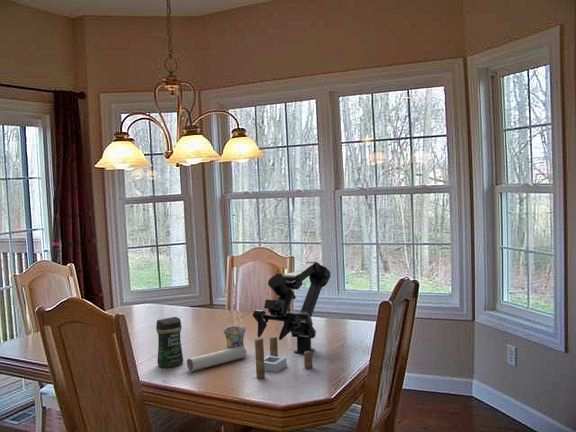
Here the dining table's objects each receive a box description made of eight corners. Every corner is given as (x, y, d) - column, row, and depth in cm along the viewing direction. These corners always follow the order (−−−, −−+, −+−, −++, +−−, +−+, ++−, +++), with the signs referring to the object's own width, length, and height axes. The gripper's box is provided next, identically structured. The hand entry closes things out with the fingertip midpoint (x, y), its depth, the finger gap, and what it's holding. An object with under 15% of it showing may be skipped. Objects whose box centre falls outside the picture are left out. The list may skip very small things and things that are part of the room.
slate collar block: (268, 362, 215) (268, 355, 215) (286, 365, 211) (286, 357, 211) (257, 369, 208) (257, 361, 208) (275, 372, 204) (275, 364, 204)
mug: (251, 355, 226) (249, 329, 226) (230, 359, 221) (229, 333, 221) (237, 348, 236) (236, 323, 236) (217, 352, 231) (216, 327, 231)
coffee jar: (163, 369, 212) (160, 322, 211) (155, 365, 219) (152, 318, 218) (186, 364, 218) (184, 317, 217) (177, 359, 224) (175, 314, 223)
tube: (240, 345, 227) (185, 358, 211) (247, 343, 223) (191, 357, 207) (243, 358, 226) (188, 372, 210) (249, 357, 222) (194, 371, 206)
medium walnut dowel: (273, 358, 221) (272, 336, 220) (279, 359, 219) (278, 336, 219) (269, 360, 218) (268, 338, 218) (275, 361, 217) (274, 338, 216)
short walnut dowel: (307, 366, 210) (306, 350, 209) (313, 367, 208) (313, 351, 208) (303, 368, 207) (302, 352, 207) (310, 369, 206) (309, 353, 205)
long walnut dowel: (259, 375, 201) (257, 337, 201) (266, 376, 200) (264, 338, 199) (254, 378, 199) (253, 340, 198) (262, 379, 197) (260, 340, 196)
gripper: (254, 289, 213) (238, 324, 204) (296, 292, 203) (282, 329, 194) (265, 305, 220) (251, 339, 211) (307, 308, 210) (294, 345, 202)
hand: (268, 338), depth 204 cm, fingers open, 9 cm apart
